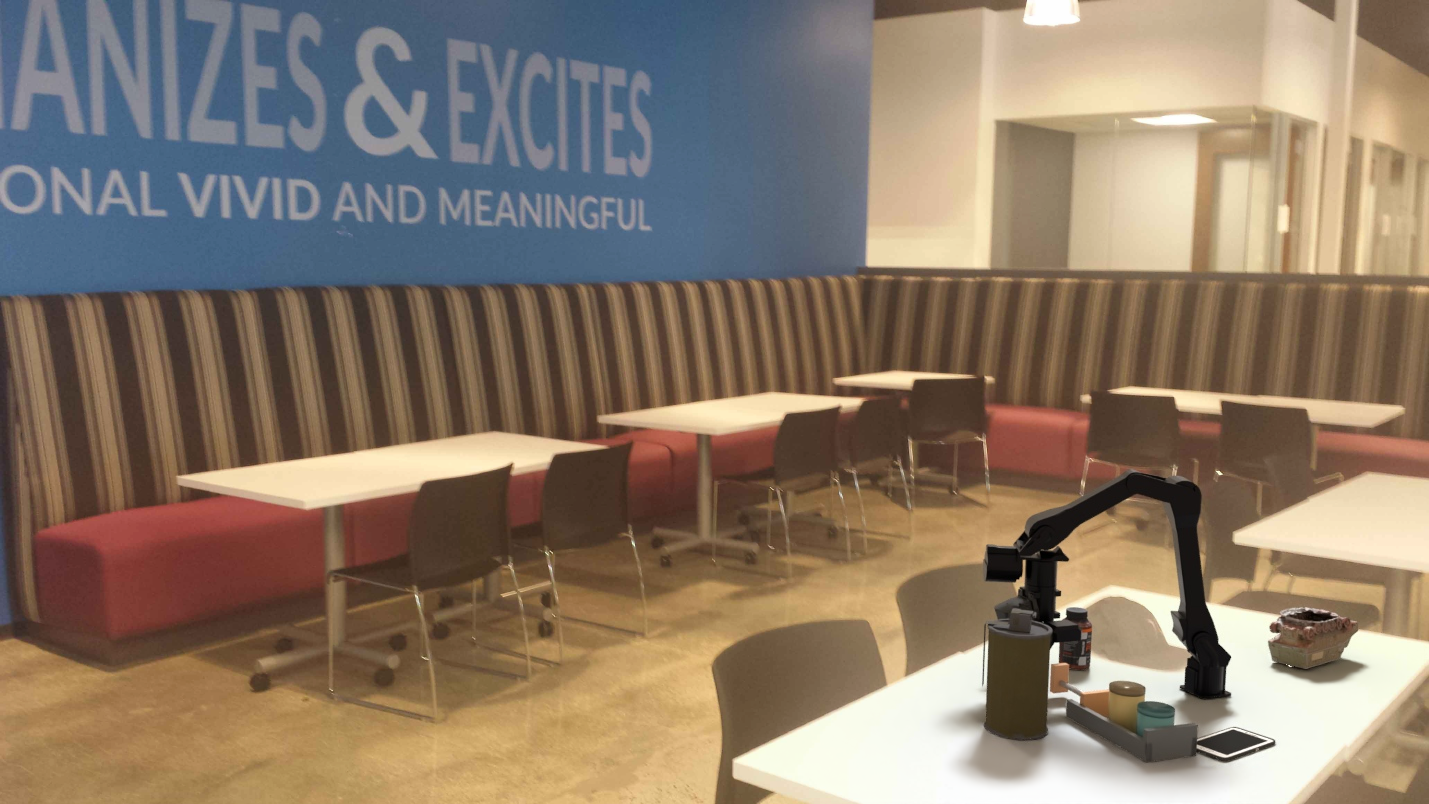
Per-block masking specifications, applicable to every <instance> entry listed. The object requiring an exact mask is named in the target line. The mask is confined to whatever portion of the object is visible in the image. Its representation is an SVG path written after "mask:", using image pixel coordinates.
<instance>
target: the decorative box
mask: <svg viewBox="0 0 1429 804" xmlns="http://www.w3.org/2000/svg"><path fill="white" fill-rule="evenodd" d="M1279 613H1280V616H1279V617H1278V618H1277V619H1276V620H1275V621H1271V623H1270V624H1269V627H1268V628H1269V632H1270V633H1272V634H1277V635H1275V636H1274V637H1273V638H1271V639H1269V640H1267V644H1268V645H1267V646H1268V649H1269V653H1270V657H1271V661H1272V662H1273V663H1278V662H1279V663H1278V664H1283V665H1285V664H1287V665H1290V666H1292V667H1293V668H1294V666H1295V668H1300V669H1304V670H1308V669H1310V668H1314V667H1316V666H1317V665H1318V666H1321V665H1325V664H1326V663H1327V664H1328V663H1330V662H1334V661H1338V660H1340V659H1341V656H1342V655H1343V653H1344V651H1345V649H1346V648H1348V646H1349V644H1350V641H1351V639H1352V637H1353V636H1354V635H1355V634H1356V633H1358V631H1359V630H1360V629H1359V622H1358V621H1356V620H1351V618H1350V616H1349V617H1348V616H1346V617H1342V616H1341V615H1339V614H1338V613H1336V612H1333V611H1329V610H1325V609H1323V608H1316V607H1311V606H1310V607H1308V606H1307V607H1306V606H1293V607H1288V608H1284V609H1281V610H1280V611H1279ZM1287 665H1286V666H1287ZM1318 666H1317V667H1318Z"/></svg>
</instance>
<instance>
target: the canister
mask: <svg viewBox="0 0 1429 804" xmlns="http://www.w3.org/2000/svg"><path fill="white" fill-rule="evenodd" d="M1036 614H1037V613H1036V612H1034V611H1028V610H1021V609H1016V608H1013V609H1012V611H1011V614H1010V618H1009V619H999V620H998V619H995V620H985V623H984V626H983V627H984V628H983V649H982V650H983V654H982V656H983V657H982V678H981V679H982V680H981V681H982V683H981V687H982V688H983V687H984V683H985V681H984V680H985V679H984V678H985V659H986V658H985V657H986V655H985V654H986V653H985V652H986V633H987V631H986V629H988V637H987V638H988V641H987V642H988V643H987V644H988V645H987V664H986V665H987V667H986V669H987V670H986V691H985V692H986V698H985V721H984V722H983V727H984V729H985V730H986V731H987V732H989V733H990V734H992V735H994V736H997V737H1000V738H1005V739H1010V740H1015V741H1031V740H1038V739H1041V738H1044V737H1046V736H1047V735H1048V733H1049V728H1048V708H1049V706H1048V704H1049V703H1048V702H1049V700H1048V699H1049V686H1050V680H1049V679H1050V659H1051V658H1050V655H1051V654H1050V653H1051V649H1050V636H1051V634H1052V632H1053V631H1052V628H1051V627H1050V626H1048V625H1046V624H1043V623H1041V622H1037V621H1033V620H1032V617H1033V618H1036Z"/></svg>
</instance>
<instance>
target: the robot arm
mask: <svg viewBox="0 0 1429 804" xmlns="http://www.w3.org/2000/svg"><path fill="white" fill-rule="evenodd" d="M1136 495H1141V496H1144V497H1147V498H1150V499H1154V500H1156V501H1160V502H1162V504H1161V505H1162V506H1163V510H1164V512H1165V515H1166V516H1167V519H1168V521H1169V525H1170V527H1171V533H1172V540H1173V541H1172V542H1173V548H1174V549H1173V550H1174V557H1175V566H1176V573H1177V581H1178V593H1179V600H1180V601H1179V605H1178V609H1177V610H1170V616H1171V620H1172V629H1171V632H1172V633H1173V634H1175V636H1176V637H1177V639H1178V640H1179V642H1181V644H1182V645H1183V646H1185V648H1186V650H1187V652H1188V653H1189V654H1190V655H1191V656H1190V657H1187V658H1186V666H1185V668H1184V669H1185V670H1184V682H1183V683H1184V684H1180V685H1179V689H1181V690H1183V691H1185V692H1187V693H1189V694H1192V695H1194V696H1196V697H1198V698H1200V699H1202V700H1203V699H1206V700H1207V699H1215V698H1222V697H1224V698H1225V697H1231V696H1232V692H1230V691H1228V690H1226V683H1227V682H1226V680H1227V667H1228V666H1229V664H1230V661H1231V659H1232V655H1230V653H1229V652H1227V650H1226V649H1225V648H1224V647H1223V646H1222V645H1221V644H1220V643H1219V636H1218V632H1217V629H1216V625H1215V622H1214V620H1213V617H1212V616H1211V613H1210V610H1209V607H1208V605H1207V601H1206V595H1205V587H1204V584H1205V583H1204V578H1203V577H1204V576H1203V568H1202V562H1201V561H1202V559H1201V552H1200V543H1199V534H1198V524H1199V520H1200V518H1201V513H1202V501H1203V494H1202V490H1201V489H1200V487H1199V486H1198V485H1197V484H1196V483H1194V482H1193V481H1191V480H1189V479H1188V478H1186V477H1185V476H1181V475H1171V476H1167V477H1164V476H1159V475H1155V474H1150V473H1146V472H1145V473H1144V472H1142V471H1141V472H1140V471H1138V470H1136V469H1131V468H1130V469H1126V470H1124V471H1123V472H1122V473H1121V474H1120V475H1119V476H1117V477H1114V478H1113V479H1111V480H1110V481H1108V482H1105V483H1103V484H1102V485H1100V486H1099V487H1096V488H1095V489H1092V490H1091V491H1089V492H1088V493H1086V494H1084V495H1082V496H1079V497H1078V498H1077V499H1075V500H1073V501H1071V502H1069V503H1067V504H1065V505H1062V506H1058V507H1053V508H1049V509H1046V510H1044V511H1040V512H1037V513H1034V514H1032V515H1031V516H1030V517H1028V518H1027V520H1026V521H1025V525H1024V530H1023V531H1022V533H1021V534H1020V535H1019V536H1018V538H1017V539H1016V540H1015V541H1014V543H1012V545H997V544H989V543H988V544H986V545H985V552H984V558H983V559H982V575H983V582H984V583H985V582H989V583H1011V584H1012V583H1014V584H1015V583H1017V580H1018V581H1020V578H1022V577H1023V573H1024V585H1022V586H1019V588H1018V589H1017V595H1016V596H1015V597H1011V598H1008V599H1006V600H1004V601H1001V602H1000V603H997V604H996V605H994V607H993V608H994V612H995V615H996V620H999V619H1009V618H1010V614H1011V611H1012V609H1013V608H1016V609H1021V610H1028V611H1034V612H1036V613H1037V614H1036V618H1033V617H1032V620H1033V621H1037V622H1041V623H1043V624H1046V625H1048V626H1050V627H1051V628H1052V631H1053V632H1052V634H1051V636H1050V650H1051V649H1052V648H1053V646H1054V645H1055V643H1056V644H1057V643H1058V644H1059V643H1060V642H1070V641H1081V640H1082V629H1081V628H1080V626H1079V625H1077V624H1075V623H1073V622H1071V621H1068V620H1062V619H1060V618H1061V613H1060V612H1059V611H1057V610H1056V609H1057V608H1056V607H1057V606H1056V604H1057V598H1058V597H1061V596H1062V590H1060V589H1058V588H1057V585H1058V584H1057V583H1058V582H1057V580H1058V563H1059V562H1065V563H1066V562H1070V558H1069V557H1068V555H1067V554H1066V553H1064V551H1063V550H1062V549H1063V548H1061V547H1060V546H1059V544H1061V543H1062V542H1063V541H1065V540H1066V539H1067V538H1068V537H1070V535H1071V534H1072V533H1073V532H1074V531H1075V530H1076V529H1077V528H1078V527H1079V526H1081V525H1082V524H1084V523H1086V522H1088V521H1090V520H1091V519H1093V518H1096V517H1097V516H1098V515H1101V514H1103V513H1104V512H1106V511H1108V510H1110V509H1112V508H1113V507H1115V506H1117V505H1119V504H1121V503H1122V502H1124V501H1126V500H1128V499H1130V498H1131V497H1133V496H1136ZM1055 619H1056V620H1055ZM1057 619H1060V620H1057Z"/></svg>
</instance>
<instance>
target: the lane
mask: <svg viewBox="0 0 1429 804" xmlns="http://www.w3.org/2000/svg"><path fill="white" fill-rule="evenodd" d="M1065 717H1066V718H1067V719H1070V721H1073V722H1074V723H1076V724H1078V725H1079V726H1081V727H1084V728H1085V729H1086V730H1089V731H1091V732H1092V733H1094V734H1095V735H1097V736H1099V737H1101V738H1103V739H1104V740H1106V741H1108V742H1109V743H1111V744H1113V745H1114V746H1117V747H1118V748H1120V749H1122V750H1124V751H1125V752H1127V753H1129V754H1131V755H1132V756H1134V757H1136V758H1137V759H1139V760H1141V761H1142V762H1144V763H1153V762H1159V761H1168V760H1175V759H1183V758H1189V757H1190V758H1191V757H1196V756H1197V753H1196V751H1197V738H1198V732H1199V731H1198V730H1199V729H1198V728H1199V725H1198V724H1197V723H1194V722H1190V723H1181V724H1174V725H1172V726H1164V727H1156V728H1148V729H1143V738H1142V737H1140V736H1138V735H1137V734H1135V733H1133V732H1131V731H1129V730H1127V729H1126V728H1124V727H1122V726H1120V725H1118V724H1116V723H1115V722H1113V721H1111V720H1109V719H1108V717H1104V716H1102V715H1100V714H1098V713H1096V712H1094V711H1093V710H1091V709H1089V708H1087V707H1085V706H1083V705H1082V704H1080V702H1078V701H1076V700H1074V699H1073V698H1069V699H1066V706H1065Z"/></svg>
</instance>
